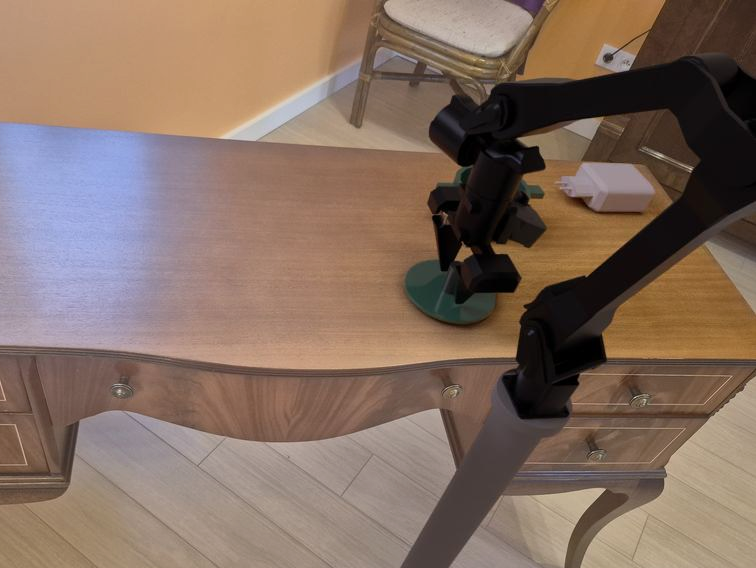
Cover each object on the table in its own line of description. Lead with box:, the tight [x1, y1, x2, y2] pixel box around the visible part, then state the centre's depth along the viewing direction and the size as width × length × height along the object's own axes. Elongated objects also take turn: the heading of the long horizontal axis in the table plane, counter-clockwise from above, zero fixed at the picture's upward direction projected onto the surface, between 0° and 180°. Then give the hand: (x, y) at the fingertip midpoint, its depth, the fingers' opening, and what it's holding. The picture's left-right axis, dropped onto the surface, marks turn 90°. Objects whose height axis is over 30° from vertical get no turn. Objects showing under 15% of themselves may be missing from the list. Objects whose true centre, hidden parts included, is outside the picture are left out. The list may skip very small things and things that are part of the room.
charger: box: [554, 162, 656, 213], centre depth 105 cm, size 5×9×15 cm
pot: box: [435, 165, 546, 201], centre depth 96 cm, size 12×17×6 cm
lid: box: [403, 259, 497, 325], centre depth 83 cm, size 13×13×5 cm
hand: (451, 286), depth 84 cm, fingers open, 6 cm apart
